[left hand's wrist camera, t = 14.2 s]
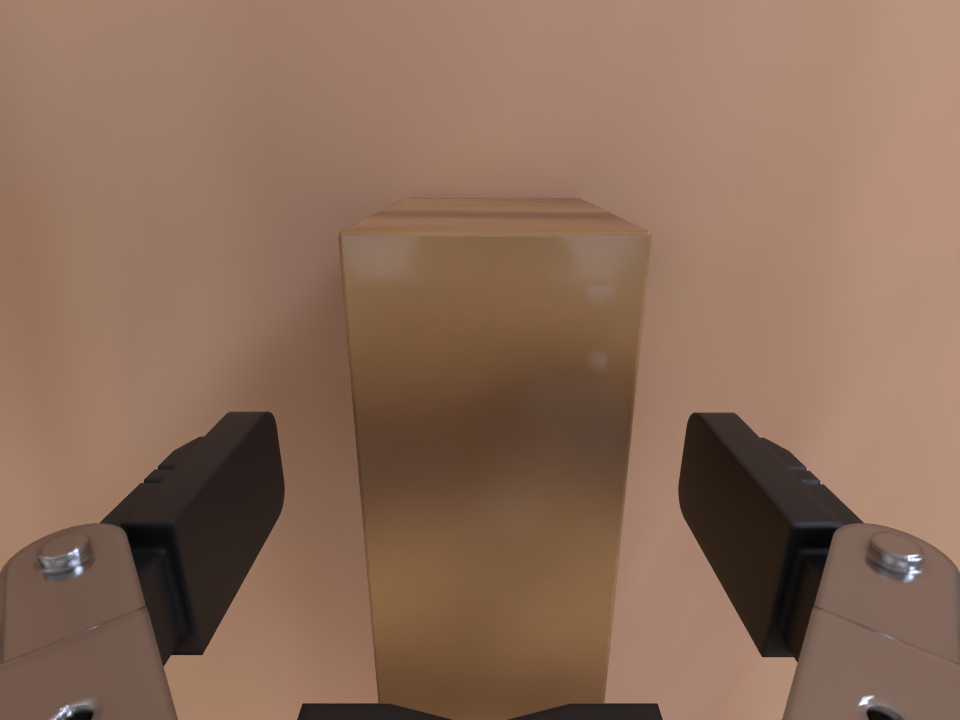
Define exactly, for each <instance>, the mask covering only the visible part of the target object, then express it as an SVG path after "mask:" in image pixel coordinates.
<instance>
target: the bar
mask: <svg viewBox="0 0 960 720" xmlns="http://www.w3.org/2000/svg"><path fill="white" fill-rule="evenodd" d="M338 237H339V248H340V260H341V272H342V283H343V295H344V307H345V318H346V330H347V342H348V353H349V365H350V377H351V388H352V400H353V412H354V423H355V435H356V447H357V458H358V470H359V482H360V493H361V505H362V517H363V528H364V540H365V552H366V563H367V575H368V587H369V598H370V610H371V622H372V633H373V645H374V656H375V668H376V680H377V691H378V703H379V704H393V705H397V706H401V707H405V708H409V709H413V710H417V711H421V712H425V713H429V714H433V715H437V716H440V717H444V718H448V719H452V720H508V719H512V718H516V717H520V716H523V715H527V714H531V713H535V712H539V711H543V710H547V709H551V708H555V707H559V706H563V705H567V704H604V701H605V691H606V681H607V671H608V661H609V651H610V641H611V631H612V621H613V611H614V601H615V591H616V581H617V571H618V561H619V551H620V542H621V532H622V522H623V512H624V502H625V492H626V482H627V472H628V462H629V452H630V442H631V432H632V422H633V412H634V402H635V392H636V382H637V372H638V362H639V352H640V342H641V332H642V322H643V312H644V302H645V292H646V282H647V272H648V262H649V252H650V242H651V234H650V232H648V231H646V230H644V229H642V228H640V227H638V226H636V225H634V224H632V223H630V222H628V221H625V220H623V219H621V218H619V217H617V216H615V215H613V214H611V213H609V212H607V211H605V210H603V209H601V208H599V207H597V206H595V205H593V204H591V203H588V202H586V201H584V200H582V199H404V200H402V201H400V202H398V203H396V204H394V205H392V206H390V207H388V208H386V209H384V210H382V211H380V212H378V213H376V214H374V215H372V216H370V217H368V218H366V219H364V220H363V221H361V222H359V223H357V224H355V225H353V226H351V227H349V228H347V229H345V230H343V231H341V232H339V236H338Z"/></svg>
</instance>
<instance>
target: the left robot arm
mask: <svg viewBox="0 0 960 720" xmlns="http://www.w3.org/2000/svg"><path fill="white" fill-rule="evenodd" d="M284 491H285V488H284V477H283V470H282V463H281V455H280V448H279V441H278V433H277V426H276V421H275V418H274V416H273V414H272V413H271V412H229V413H227V414H226V415H225V416H224V417H223V418H222V419H221V420H220V421H219V422H218V423H217V424H216V425H215V426H214V427H213V428H212V429H211V430H210V431H209V432H208V433H207V434H206V435H205V436H204V437H198V438H196V439H195V440H193V441H191V442H189V443H187V444H185V445H183V446H182V447H180V448H178V449H176V450H174V451H173V452H172V453H171V454H170V455H169V456H168V457H167V458H166V459H165V460H164V461H163V462H162V463H161V464H160V465H159V466H158V470H154V471H153V472H152V473H151V474H150V475H149V476H148V477H147V478H145V479H144V483H140V484H139V485H138V486H137V487H136V488H135V489H134V490H133V491H132V492H131V493H130V494H129V495H128V496H127V497H126V498H125V499H124V500H123V501H122V502H121V503H120V504H119V505H118V506H117V507H116V508H115V509H114V510H112V511H111V512H110V513H109V514H108V515H107V516H106V517H105V518H104V519H103V520H102V521H101V522H100V523H93V524H85V525H79V526H74V527H71V528H67V529H63V530H60V531H58V532H55V533H52V534H50V535H47V536H45V537H43V538H41V539H39V540H37V541H35V542H33V543H31V544H30V545H28V546H26V547H25V548H23V549H22V550H20V551H19V552H18V553H16V554H15V555H14V556H13V557H12V558H11V559H10V560H9V561H8V562H7V563H6V564H5V565H4V567H3V569H2V570H1V572H0V720H178V719H177V715H176V711H175V708H174V704H173V700H172V697H171V693H170V689H169V686H168V682H167V678H166V675H165V671H164V665H165V664H166V662H167V660H168V659H169V657H170V656H171V655H203V653H204V651H205V649H206V647H207V646H208V644H209V642H210V640H211V638H212V637H213V635H214V633H215V631H216V629H217V628H218V626H219V624H220V622H221V620H222V619H223V617H224V615H225V613H226V611H227V610H228V608H229V606H230V604H231V602H232V601H233V599H234V597H235V595H236V593H237V592H238V590H239V588H240V586H241V584H242V583H243V581H244V579H245V577H246V575H247V574H248V572H249V570H250V568H251V566H252V565H253V563H254V561H255V559H256V557H257V556H258V554H259V552H260V550H261V548H262V546H263V545H264V543H265V541H266V539H267V537H268V536H269V534H270V532H271V530H272V528H273V527H274V525H275V523H276V521H277V519H278V518H279V516H280V513H281V510H282V507H283V502H284ZM678 492H679V503H680V508H681V511H682V514H683V517H684V519H685V520H686V522H687V524H688V526H689V527H690V529H691V531H692V533H693V535H694V536H695V538H696V540H697V542H698V544H699V545H700V547H701V549H702V551H703V552H704V554H705V556H706V558H707V560H708V561H709V563H710V565H711V567H712V568H713V570H714V572H715V574H716V576H717V577H718V579H719V581H720V583H721V584H722V586H723V588H724V590H725V592H726V593H727V595H728V597H729V599H730V601H731V602H732V604H733V606H734V608H735V609H736V611H737V613H738V615H739V617H740V618H741V620H742V622H743V624H744V625H745V627H746V629H747V631H748V633H749V634H750V636H751V638H752V640H753V642H754V643H755V645H756V647H757V649H758V650H759V652H760V654H761V656H762V657H794V658H795V659H796V661H797V662H798V664H797V667H796V671H795V675H794V678H793V682H792V686H791V689H790V693H789V697H788V700H787V704H786V708H785V711H784V715H783V719H782V720H960V572H959V570H958V569H957V567H956V565H955V564H954V563H953V562H952V561H951V560H950V559H949V558H948V557H947V556H946V555H945V554H944V553H942V552H941V551H940V550H938V549H937V548H935V547H934V546H932V545H930V544H929V543H927V542H925V541H923V540H921V539H919V538H917V537H915V536H913V535H910V534H908V533H905V532H902V531H900V530H897V529H893V528H889V527H886V526H881V525H875V524H867V523H863V522H862V521H861V520H860V519H859V518H858V517H857V516H856V515H855V514H854V513H853V512H852V511H851V510H850V509H849V508H848V507H847V506H846V505H845V504H844V503H843V502H841V501H840V500H839V499H838V498H837V497H836V496H835V495H834V494H833V493H832V492H831V491H830V490H829V489H828V488H827V487H826V486H825V485H821V484H820V480H819V479H818V478H817V477H815V476H814V475H813V474H812V473H811V472H810V471H806V467H805V466H804V465H803V464H802V463H801V462H800V461H799V460H798V459H797V458H796V457H795V456H794V455H793V454H792V453H790V452H789V451H788V450H786V449H784V448H782V447H780V446H778V445H777V444H775V443H773V442H771V441H769V440H767V439H765V438H759V437H758V436H757V435H756V434H755V433H754V432H753V431H752V430H751V429H750V427H749V426H748V425H747V424H746V423H745V422H744V421H743V420H742V419H741V418H740V417H739V416H738V415H736V414H735V413H692V414H691V416H690V417H689V420H688V423H687V428H686V435H685V442H684V450H683V457H682V464H681V471H680V478H679V489H678ZM297 720H452V719H448V718H444V717H440V716H437V715H433V714H429V713H425V712H421V711H417V710H413V709H409V708H405V707H401V706H397V705H393V704H302V707H301V710H300V713H299V716H298V719H297ZM508 720H663V719H662V716H661V713H660V710H659V707H658V704H567V705H563V706H559V707H555V708H551V709H547V710H543V711H539V712H535V713H531V714H527V715H523V716H520V717H516V718H512V719H508Z"/></svg>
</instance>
